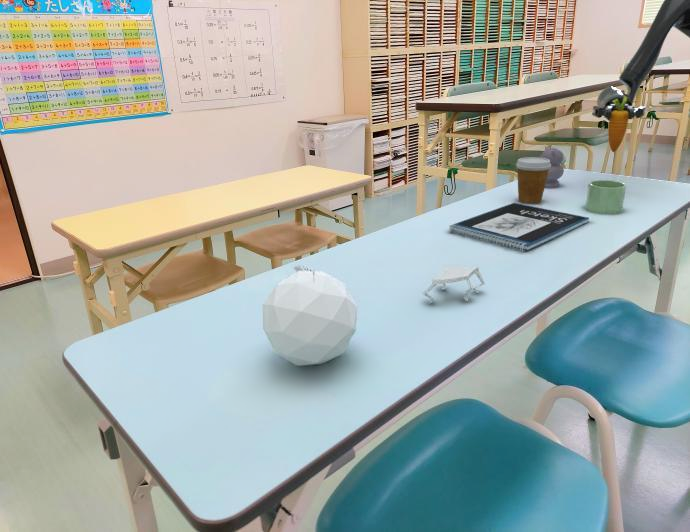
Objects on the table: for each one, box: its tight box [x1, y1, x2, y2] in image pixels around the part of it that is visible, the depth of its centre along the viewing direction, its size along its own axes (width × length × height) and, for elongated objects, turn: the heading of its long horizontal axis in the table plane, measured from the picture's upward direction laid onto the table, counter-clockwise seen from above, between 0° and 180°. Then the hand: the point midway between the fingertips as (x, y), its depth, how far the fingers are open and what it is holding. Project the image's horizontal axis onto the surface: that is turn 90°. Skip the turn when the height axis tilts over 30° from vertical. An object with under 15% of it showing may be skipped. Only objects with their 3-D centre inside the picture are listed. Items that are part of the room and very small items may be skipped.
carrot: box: [608, 96, 629, 153], centre depth 144 cm, size 5×5×15 cm
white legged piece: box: [422, 265, 486, 304], centre depth 95 cm, size 12×8×5 cm
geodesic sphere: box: [262, 265, 358, 367], centre depth 77 cm, size 15×14×14 cm
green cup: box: [585, 179, 627, 215], centre depth 140 cm, size 9×9×7 cm
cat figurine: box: [540, 145, 565, 189], centre depth 165 cm, size 8×8×12 cm
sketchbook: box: [448, 202, 590, 252], centre depth 130 cm, size 22×30×2 cm
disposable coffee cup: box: [515, 156, 551, 205], centre depth 149 cm, size 10×10×12 cm
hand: (620, 115), depth 141 cm, fingers closed on carrot, 4 cm apart
